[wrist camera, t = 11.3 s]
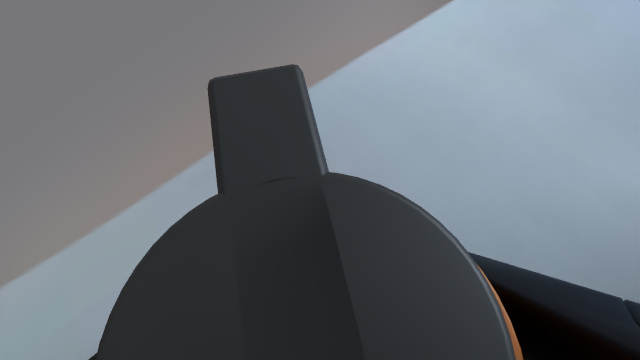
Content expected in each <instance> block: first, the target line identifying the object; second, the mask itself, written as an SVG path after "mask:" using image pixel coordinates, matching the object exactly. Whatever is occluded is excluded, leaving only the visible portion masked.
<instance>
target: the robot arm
mask: <svg viewBox="0 0 640 360" xmlns="http://www.w3.org/2000/svg"><path fill="white" fill-rule="evenodd" d="M468 253H469V254H470V256H471V257H472V258H473V259H474V261H475V262H476V264H477V265H478V266H479V267H480V269H481V270H482V271H483V273H484V274H485V276H486V277H487V279H488V280H489V282H490V283H491V285H492V287H493V288H494V290H495V291H496V293H497V294H498V296H499V298H500V300H501V302H502V304H503V306H504V308H505V310H506V312H507V314H508V316H509V318H510V320H511V323H512V326H513V329H514V331H515V334H516V337H517V340H518V342H519V345H520V348H521V352H522V356H523V360H640V304H639V303H636V302H632V301H629V300H624V301H623V300H622V299H621V298H619V297H615V296H612V295H609V294H605V293H602V292H599V291H596V290H592V289H589V288H586V287H582V286H579V285H576V284H572V283H569V282H566V281H562V280H559V279H556V278H552V277H549V276H546V275H542V274H539V273H536V272H533V271H529V270H526V269H523V268H519V267H516V266H513V265H509V264H506V263H503V262H499V261H496V260H493V259H490V258H486V257H483V256H480V255H476V254H473V253H470V252H468ZM96 357H97V353H96V354H95V355H94V356H92V357H91V358H90V359H89V360H96Z"/></svg>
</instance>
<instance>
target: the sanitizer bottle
mask: <svg viewBox="0 0 640 360" xmlns="http://www.w3.org/2000/svg"><path fill="white" fill-rule="evenodd" d="M208 97H209V106H210V117H211V127H212V137H213V147H214V157H215V167H216V178H217V188H218V194H217V195H215V196H213V197H211V198H209V199H208V200H206V201H205V202H203V203H202V204H200V205H198V206H197V207H195V208H194V209H192V210H191V211H189V212H188V213H187V214H186V215H185V216H183V217H182V218H181V219H180V220H179V221H177V222H176V223H175V224H174V225H172V226H171V227H170V228H169V229H168V230H167V231H166V232H165V233H164V234H163V235H162V236H161V237H160V238H159V239H158V241H157V242H156V243H155V244H154V245H153V246H152V247H151V248H150V250H149V251H148V252H147V253H146V255H145V256H144V257H143V259H142V260H141V261H140V262H139V264H138V265H137V266H136V268H135V269H134V271H133V273H132V274H131V276H130V277H129V279H128V281H127V282H126V284H125V285H124V287H123V289H122V291H121V293H120V295H119V297H118V299H117V301H116V303H115V305H114V307H113V309H112V311H111V313H110V315H109V318H108V321H107V324H106V327H105V330H104V332H103V335H102V338H101V341H100V344H99V348H98V352H97V357H96V360H523V356H522V352H521V348H520V345H519V342H518V340H517V337H516V334H515V331H514V329H513V326H512V323H511V320H510V318H509V316H508V314H507V312H506V310H505V308H504V306H503V304H502V302H501V300H500V298H499V296H498V294H497V293H496V291H495V290H494V288H493V287H492V285H491V283H490V282H489V280H488V279H487V277H486V276H485V274H484V273H483V271H482V270H481V269H480V267H479V266H478V265H477V264H476V262H475V261H474V259H473V258H472V257H471V256H470V254H469V253H468V252H467V251H466V249H465V248H464V247H463V246H462V244H461V243H460V242H459V241H458V240H457V238H456V237H455V236H454V235H453V234H452V233H451V232H449V231H448V230H447V229H446V228H445V227H444V226H443V225H442V224H441V223H440V222H439V221H438V220H437V219H436V218H434V217H433V216H432V215H430V214H429V213H428V212H427V211H425V210H424V209H423V208H422V207H420V206H419V205H417V204H415V203H414V202H412V201H411V200H409V199H407V198H406V197H404V196H402V195H401V194H399V193H397V192H394V191H392V190H390V189H388V188H386V187H384V186H382V185H379V184H376V183H373V182H370V181H367V180H364V179H361V178H358V177H353V176H349V175H344V174H339V173H331V172H329V171H328V167H327V163H326V159H325V156H324V152H323V148H322V144H321V140H320V136H319V132H318V129H317V125H316V121H315V117H314V113H313V109H312V106H311V102H310V98H309V94H308V90H307V86H306V83H305V79H304V75H303V72H302V71H301V69H300V68H299V66H298V65H293V64H292V65H287V66H280V67H275V68H269V69H263V70H257V71H251V72H245V73H239V74H233V75H228V76H221V77H216V78H213V79H211V80H210V81H209V84H208Z"/></svg>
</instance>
